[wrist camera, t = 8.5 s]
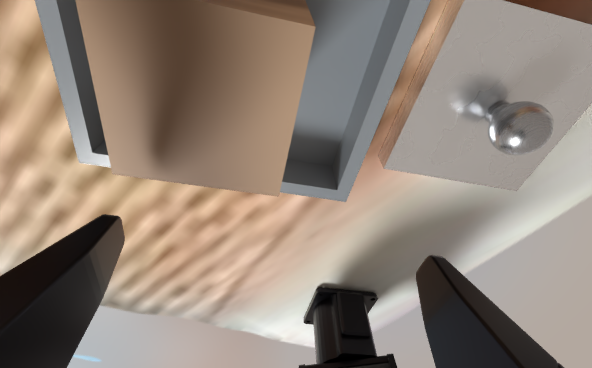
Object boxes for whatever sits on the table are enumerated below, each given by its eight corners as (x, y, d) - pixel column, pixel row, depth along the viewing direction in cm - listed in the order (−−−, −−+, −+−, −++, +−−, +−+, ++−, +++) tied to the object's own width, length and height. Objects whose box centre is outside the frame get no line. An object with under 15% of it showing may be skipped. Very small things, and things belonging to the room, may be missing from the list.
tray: (338, 169, 21) (345, 201, 19) (109, 131, 19) (79, 162, 16) (447, -130, 12) (494, -153, 9) (34, -272, 10) (-63, -356, 7)
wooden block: (299, -14, 14) (315, 26, 7) (280, 95, 17) (277, 201, 10) (187, -41, 13) (69, -28, 6) (188, 78, 16) (113, 179, 9)
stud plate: (504, 177, 22) (550, 226, 18) (378, 155, 21) (399, 203, 17) (619, 33, 16) (723, 59, 12) (454, -13, 15) (513, 1, 11)
